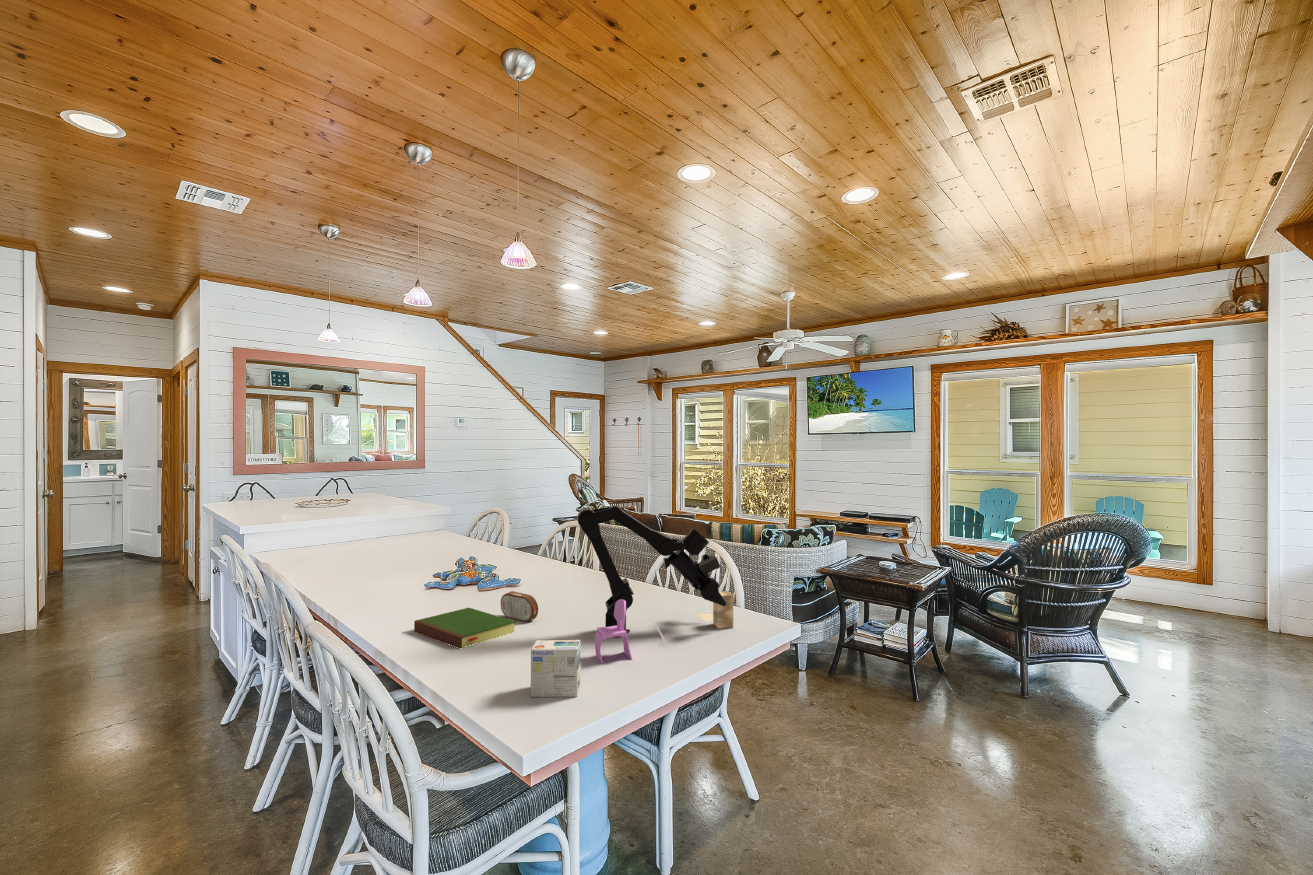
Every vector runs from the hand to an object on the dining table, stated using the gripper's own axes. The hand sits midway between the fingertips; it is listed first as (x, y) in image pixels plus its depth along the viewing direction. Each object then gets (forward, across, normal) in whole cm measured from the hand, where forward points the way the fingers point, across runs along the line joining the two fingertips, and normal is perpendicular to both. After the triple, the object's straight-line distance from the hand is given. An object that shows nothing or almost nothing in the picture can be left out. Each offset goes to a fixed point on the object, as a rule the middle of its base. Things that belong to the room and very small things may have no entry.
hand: (721, 601), depth 175 cm
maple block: (+6, 0, +5) cm, 8 cm away
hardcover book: (-49, +8, +61) cm, 79 cm away
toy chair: (-19, -20, +31) cm, 42 cm away
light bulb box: (-30, -39, +41) cm, 64 cm away
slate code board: (+6, +5, +6) cm, 10 cm away
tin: (-39, +19, +50) cm, 66 cm away
